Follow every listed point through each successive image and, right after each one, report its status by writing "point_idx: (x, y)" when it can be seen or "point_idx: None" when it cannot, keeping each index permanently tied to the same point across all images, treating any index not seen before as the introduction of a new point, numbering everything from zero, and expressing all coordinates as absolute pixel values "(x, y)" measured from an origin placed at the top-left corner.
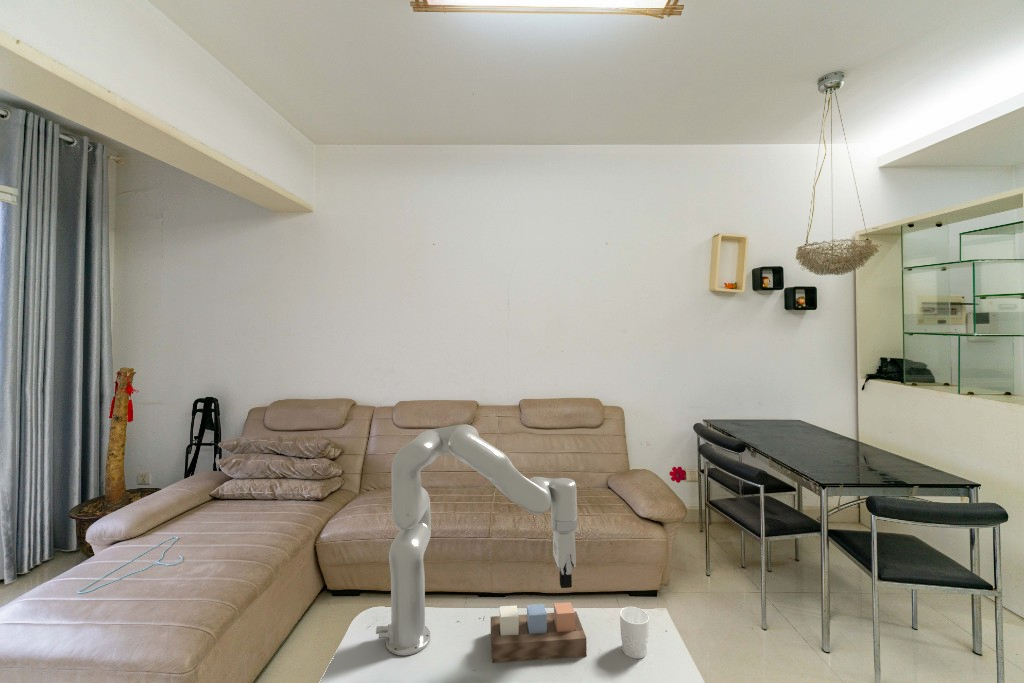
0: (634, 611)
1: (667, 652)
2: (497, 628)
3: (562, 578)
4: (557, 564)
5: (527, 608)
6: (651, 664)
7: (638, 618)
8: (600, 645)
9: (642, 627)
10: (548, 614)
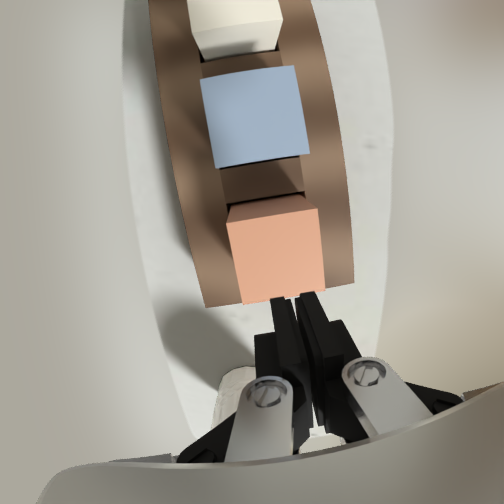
0: None
1: None
2: None
3: (277, 353)
4: (143, 490)
5: (269, 69)
6: (208, 404)
7: None
8: (261, 321)
9: None
10: (337, 174)
